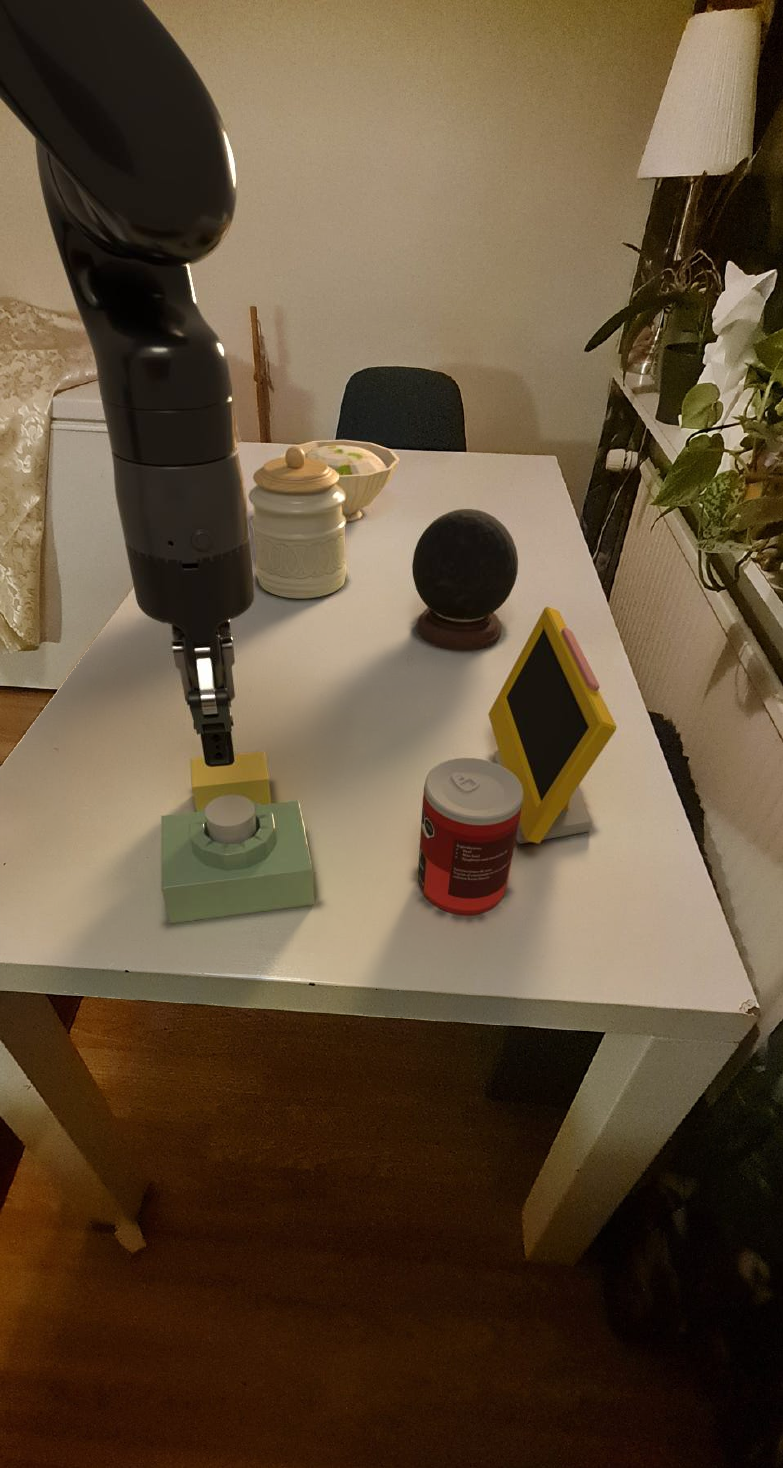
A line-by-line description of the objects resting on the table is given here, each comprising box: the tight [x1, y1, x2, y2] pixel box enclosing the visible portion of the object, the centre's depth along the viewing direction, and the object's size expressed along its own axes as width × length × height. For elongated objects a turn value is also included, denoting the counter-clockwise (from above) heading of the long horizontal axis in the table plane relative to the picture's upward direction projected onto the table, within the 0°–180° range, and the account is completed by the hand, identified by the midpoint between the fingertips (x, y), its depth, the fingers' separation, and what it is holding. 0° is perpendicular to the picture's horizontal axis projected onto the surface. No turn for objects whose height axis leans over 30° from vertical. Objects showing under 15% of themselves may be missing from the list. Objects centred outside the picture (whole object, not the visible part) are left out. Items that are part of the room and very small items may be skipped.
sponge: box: [190, 750, 272, 812], centre depth 74 cm, size 7×4×4 cm, turn 102°
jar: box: [248, 445, 348, 599], centre depth 105 cm, size 13×13×18 cm
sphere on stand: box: [411, 508, 519, 651], centre depth 97 cm, size 13×13×15 cm
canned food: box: [417, 757, 523, 916], centre depth 64 cm, size 8×8×11 cm
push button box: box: [160, 800, 315, 924], centre depth 66 cm, size 12×9×6 cm
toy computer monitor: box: [487, 606, 618, 845], centre depth 71 cm, size 20×8×16 cm, turn 4°
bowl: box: [280, 439, 401, 523], centre depth 127 cm, size 19×19×10 cm
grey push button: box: [205, 795, 257, 845], centre depth 63 cm, size 4×4×2 cm
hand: (219, 760), depth 59 cm, fingers closed
